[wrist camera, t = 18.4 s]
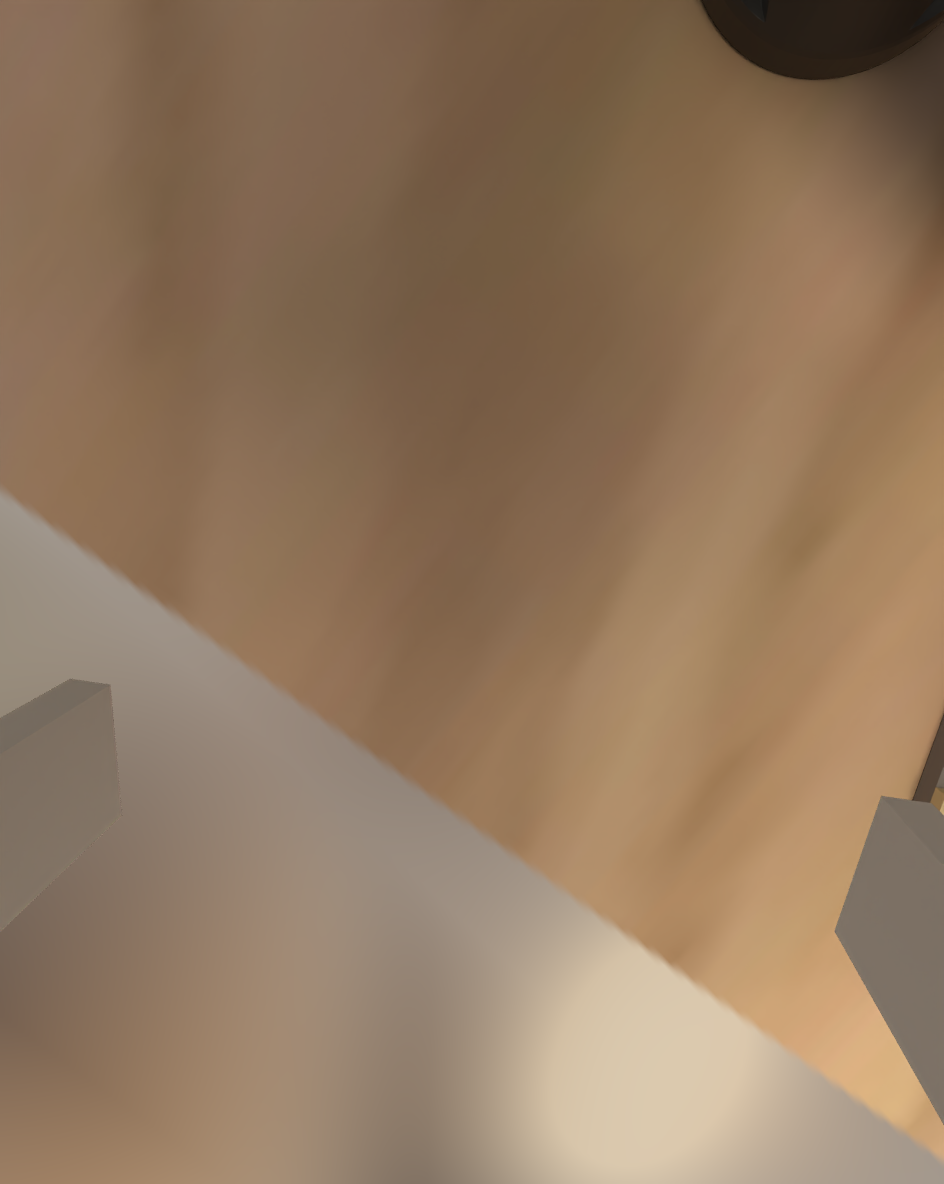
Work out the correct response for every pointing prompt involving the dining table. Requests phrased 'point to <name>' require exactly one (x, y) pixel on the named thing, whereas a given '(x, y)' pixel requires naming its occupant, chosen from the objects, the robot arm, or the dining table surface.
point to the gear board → (933, 775)
